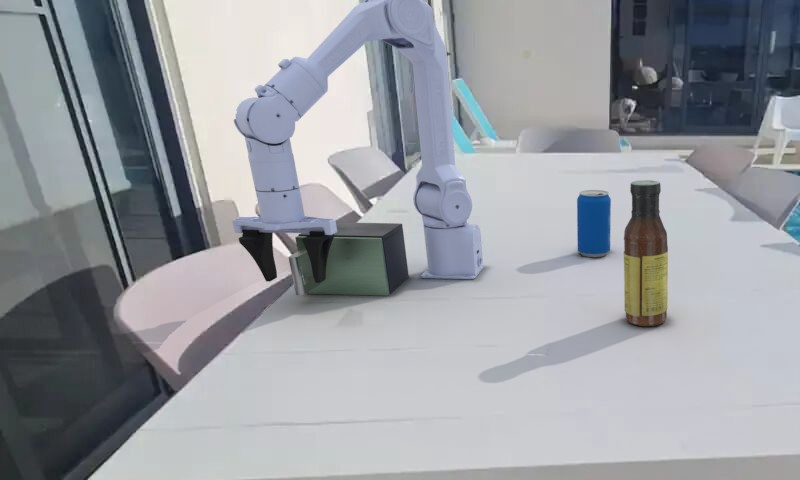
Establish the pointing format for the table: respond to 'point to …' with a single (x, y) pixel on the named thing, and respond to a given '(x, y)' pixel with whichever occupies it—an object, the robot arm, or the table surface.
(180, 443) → the table surface
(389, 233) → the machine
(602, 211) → the beverage can
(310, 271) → the machine door
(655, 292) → the sauce bottle
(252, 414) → the table surface
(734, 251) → the table surface
